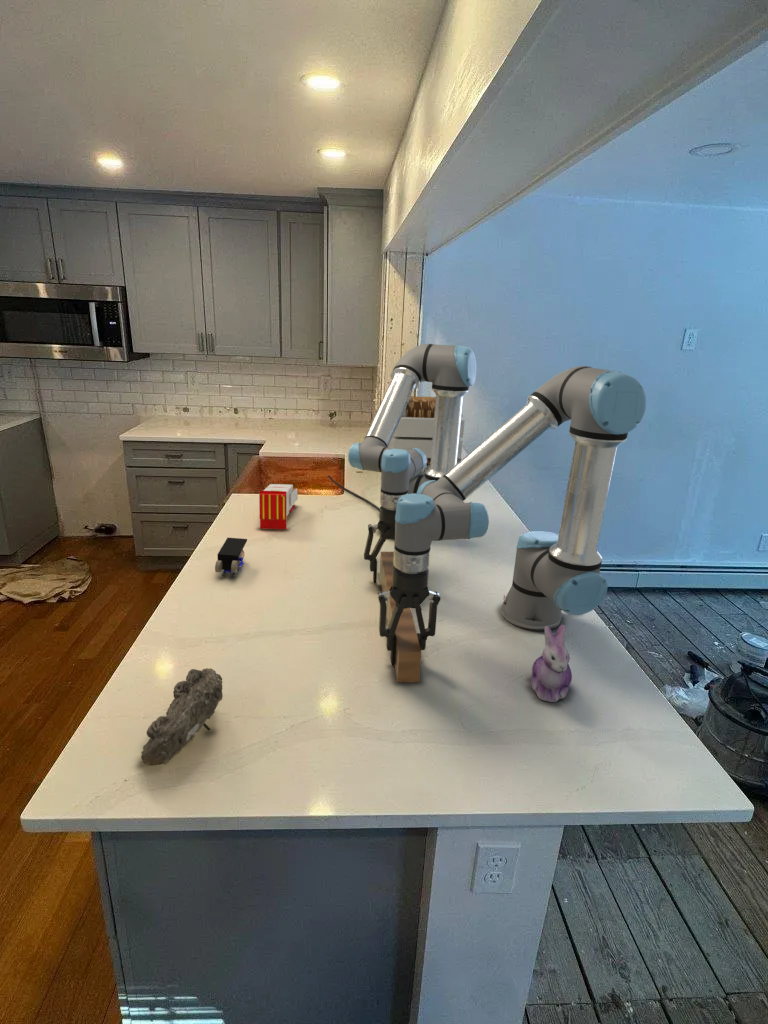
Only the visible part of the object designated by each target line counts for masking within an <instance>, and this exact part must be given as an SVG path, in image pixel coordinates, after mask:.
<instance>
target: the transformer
mask: <svg viewBox="0 0 768 1024" xmlns="http://www.w3.org/2000/svg"><path fill="white" fill-rule="evenodd" d="M435 402H436V396H415V395H414V396H413V395H411V397H410V399H409V401H408V404H407V406H406V408H405V410H404V413H403V415H402V417H401V419H400V421H399V424H398V426H397V428H396V430H395V433H394V435H393V437H392V439H391V441H390V444H389V446H388V447H389V448H395V449H402V450H408V449H411V448H417V449H420V450H422V451H423V452H424V454H425V455H426V458H427V465H426V467H430V463H431V451H432V438H433V426H434V414H435ZM464 429H465V419H464V418H463V411H462V412H461V422H460V433H459V443H458V453H457V463H459V462H460V461H461V460H462V459H463V458H462V453H463V442H464V441H463V440H462V439H463V438H464V431H465V430H464Z"/></svg>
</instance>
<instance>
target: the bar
mask: <svg viewBox="0 0 768 1024" xmlns="http://www.w3.org/2000/svg"><path fill="white" fill-rule="evenodd" d="M379 555H380V559H379V561H380V562H379V580H380V584H381V591H382V592H383V593H384V592H387V591H389V590H390V588H391V586H392V579H393V567H394V565H393V559H394V551H380V554H379ZM395 603H396V602H395V601H394V600H393V598H392V597H390V598H389V601H388V602H387V603H386V606H387V611H386V623H387V627H388V626H389V623H390V620H391V617H392V614H393V611H394V608H395ZM417 633H418V632H417V629H416V624H415V620H414V616H413V612H412V608H406V609H403V612H402V613H401V616H400V619H399V622H398V625H397V628H396V631H395V634H396V658H395V665H394V670H395V676H396V682H397V683H420V679H421V665H422V650H421V648H420V644H419V640H418V636H417Z"/></svg>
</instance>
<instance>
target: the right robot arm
mask: <svg viewBox="0 0 768 1024" xmlns="http://www.w3.org/2000/svg"><path fill="white" fill-rule="evenodd" d="M646 408H647V397H646V392H645V390H644V388H643V386H642V384H641V382H640V381H639V380H638V379H636V378H635V377H634V376H632V375H629V374H626V373H623V372H621V371H617V370H611V369H603V368H597V367H592V366H587V365H579V366H573V367H570V368H568V369H565V370H563V371H561V372H559V373H557V374H556V375H554V376H553V377H551V378H550V379H548V380H547V381H546V382H545V383H543V384H542V385H540V386H539V387H538V388H537V389H535V390H534V391H533V392H532V393H531V394H530V395H528V397H527V399H526V404H525V405H524V406H522V408H520V409H519V410H518V411H516V413H515V414H513V415H512V416H511V417H510V418H509V419H508V420H507V421H505V422H504V423H503V424H502V425H501V426H499V427H498V428H497V429H496V430H495V431H494V432H492V433H491V434H490V435H489V436H488V437H487V438H485V439H484V440H483V441H482V442H481V443H480V444H478V445H477V446H476V447H474V449H473V450H471V451H470V452H469V453H467V455H465V456H464V457H463V458H462V460H461V461H460V462H459V463H457V464H456V465H455V466H454V467H453V468H452V469H450V470H449V471H448V472H447V473H446V474H445V475H443V476H442V477H441V478H440V479H439V480H437V481H435V480H430V481H427V482H424V483H423V484H422V485H421V486H420V487H419V488H418V490H417V494H406V495H403V496H401V497H400V498H399V500H398V502H397V508H396V516H395V539H394V545H393V552H394V559H393V565H394V567H393V579H392V586H391V588H390V590H389V591H387V592H384V593H383V592H382V590H379V591H378V592H377V598H378V602H379V618H378V619H379V620H378V621H379V622H378V632H379V636H380V637H381V638H384V637H385V638H386V650H387V651H388V652H390V663H391V666H395V658H396V634H395V631H396V628H397V625H398V622H399V619H400V616H401V613H402V612H403V609H406V608H411V610H412V609H414V611H415V616H416V620H417V625H418V631H419V632H417V636H418V640H419V644H420V648H421V651H425V650H426V645H427V640H428V637H435V635H436V628H437V627H436V626H437V617H438V616H437V614H438V606H439V604H440V602H441V599H442V598H441V595H440V592H439V591H438V590H435V591H431V590H430V589H429V587H428V586H429V585H428V584H429V571H430V570H429V567H430V558H431V550H432V549H431V545H432V542H440V541H455V540H470V539H476V538H478V539H479V538H482V537H484V536H485V535H486V534H487V533H488V530H489V524H490V516H489V512H488V508H487V507H486V506H485V504H483V503H482V502H474V501H470V502H465V501H466V500H467V499H468V498H469V497H470V496H472V494H473V493H475V492H476V491H477V490H478V489H479V488H481V487H482V486H483V485H484V484H485V483H487V482H488V481H489V480H491V478H493V477H494V476H495V475H496V474H497V473H498V472H500V471H501V470H502V469H503V468H504V467H505V466H507V465H508V464H509V463H510V462H511V461H513V460H514V459H515V458H516V457H517V456H519V455H520V454H521V453H522V452H523V451H524V450H526V449H527V448H528V447H529V446H530V445H531V444H532V443H534V442H535V441H536V440H537V439H538V438H539V437H541V436H542V435H543V434H545V433H546V432H547V431H548V430H555V429H557V428H558V427H560V426H561V425H562V424H564V423H565V422H567V421H570V424H569V430H568V434H569V435H570V437H571V438H572V439H573V441H574V444H573V451H572V456H571V462H570V469H569V474H568V480H567V484H566V485H567V486H566V491H565V496H564V497H565V498H564V502H563V507H562V508H563V509H562V514H561V519H560V526H559V531H558V533H556V532H551V531H540V530H538V531H537V530H535V531H527V532H524V533H522V534H520V536H519V537H518V538H517V539H518V540H517V543H516V546H515V548H516V550H515V557H514V566H513V567H514V568H513V575H512V582H511V587H510V588H509V590H508V592H507V594H506V595H505V594H503V602H502V605H501V615H502V617H503V618H504V619H505V620H506V621H507V622H509V624H512V625H514V626H516V627H518V628H521V629H525V630H529V631H538V632H539V631H541V632H542V631H544V627H545V626H548V627H549V628H550V629H551V630H553V629H555V628H557V627H559V626H560V625H561V622H562V612H564V613H566V614H568V615H571V616H582V615H586V614H588V613H590V612H592V611H593V610H594V609H595V608H597V607H598V606H599V605H600V604H601V603H602V602H603V601H604V600H605V597H606V596H607V594H608V593H607V592H608V582H607V580H606V578H605V576H604V574H601V567H602V563H603V557H602V555H601V553H600V552H599V551H598V546H599V540H600V535H601V530H602V525H603V520H604V516H605V511H606V505H607V501H608V500H607V499H608V494H609V489H610V485H611V479H612V475H613V470H614V465H615V459H616V455H617V449H618V447H619V446H620V445H621V444H623V443H625V442H626V441H627V439H628V435H629V433H630V432H632V431H633V430H634V429H636V428H637V425H638V424H640V423H641V422H642V420H643V418H644V416H645V413H646ZM390 597H392V598H393V600H394V601H395V602H396V603H395V608H394V611H393V614H392V617H391V620H390V623H389V626H388V625H387V616H386V611H387V606H386V603H387V602H388V601H389V598H390ZM427 598H428V601H429V609H428V611H429V612H428V621H427V628H426V625H425V621H424V616H423V611H422V606H421V605H422V604H423V603H424V602H425V601H426V600H427ZM386 626H387V627H386Z"/></svg>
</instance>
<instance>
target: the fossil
mask: <svg viewBox="0 0 768 1024" xmlns="http://www.w3.org/2000/svg"><path fill="white" fill-rule="evenodd" d="M172 696H173V700H172V701H171V703H170V704H169V707H168V708H167V710H166V712H165V713H166V714H165V715H166V716H163V715H160V716H158V717H157V718H156V720H153V721H152V722H151V724H150V725H149V726H148V728H147V730H146V736H147V737H148V738H149V739H148V740H147V742H146V743H145V744H144V745H143V746H142V750H141V752H140V753H141V756H140V759H141V762H142V763H143V764H146V765H148V766H149V767H155V766H160V765H167V764H168V763H169V762H170V761H172V759H174V757H176V755H178V754H180V752H181V751H182V750H183V749H184V748H185V747H186V746H187V745H189V744H190V742H192V741H193V739H194V738H195V736H196V734H197V733H198V732H199V731H200V730H201V729H202V728H204V729H206V730H207V731H208V732H209V731H211V728H210V726H208V724H206V721H207V720H210V719H211V718H212V716H213V715H214V714H215V711H216V709H217V707H218V705H219V703H220V702H221V701H222V699H223V698H224V697H223V696H224V695H223V677H222V676H221V674H219V673H217V671H216V670H215V669H213V668H207V667H206V668H203V669H202V670H200V669H196V668H191V669H190V670H189V671H188V673H187V675H186V677H185V680H181V681H178V682H177V683H176V684H175V685H174V687H173V695H172Z"/></svg>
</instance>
